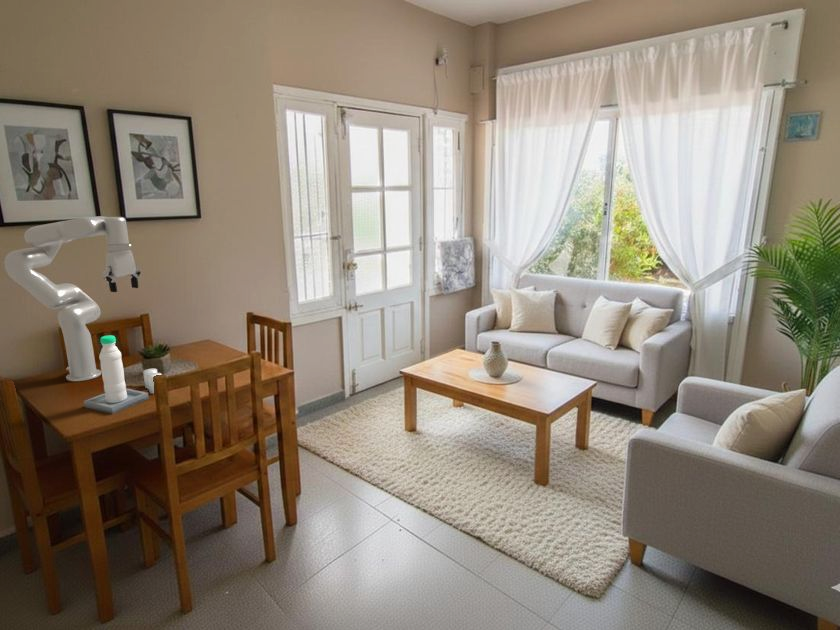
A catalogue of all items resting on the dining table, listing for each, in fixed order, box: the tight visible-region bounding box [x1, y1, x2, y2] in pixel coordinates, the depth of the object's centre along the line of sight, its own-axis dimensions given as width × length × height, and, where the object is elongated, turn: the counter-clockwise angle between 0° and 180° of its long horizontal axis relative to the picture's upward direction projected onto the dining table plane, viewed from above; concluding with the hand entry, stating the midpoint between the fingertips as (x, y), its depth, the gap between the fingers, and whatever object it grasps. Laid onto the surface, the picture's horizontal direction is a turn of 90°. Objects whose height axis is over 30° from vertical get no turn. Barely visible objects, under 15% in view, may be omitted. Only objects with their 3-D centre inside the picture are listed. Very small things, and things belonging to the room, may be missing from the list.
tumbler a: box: [147, 372, 163, 395], centre depth 203 cm, size 5×5×7 cm
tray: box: [83, 387, 150, 415], centre depth 193 cm, size 15×15×2 cm
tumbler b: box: [142, 367, 158, 390], centre depth 208 cm, size 5×5×7 cm
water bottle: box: [98, 335, 127, 403], centre depth 190 cm, size 7×7×25 cm
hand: (124, 289), depth 210 cm, fingers open, 9 cm apart
